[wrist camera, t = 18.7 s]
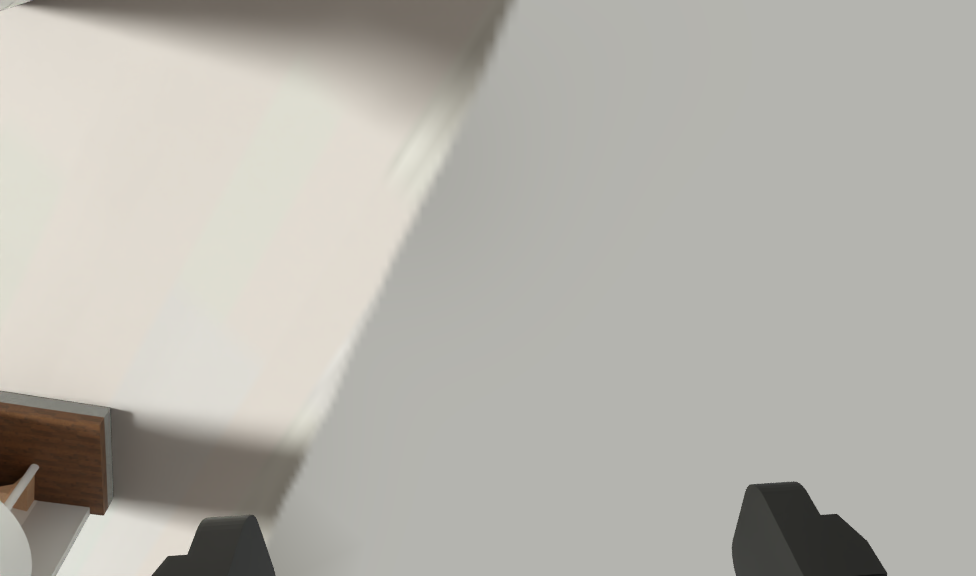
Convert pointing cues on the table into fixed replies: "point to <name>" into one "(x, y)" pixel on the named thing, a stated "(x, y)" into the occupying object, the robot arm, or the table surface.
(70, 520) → the display case
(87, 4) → the table surface
